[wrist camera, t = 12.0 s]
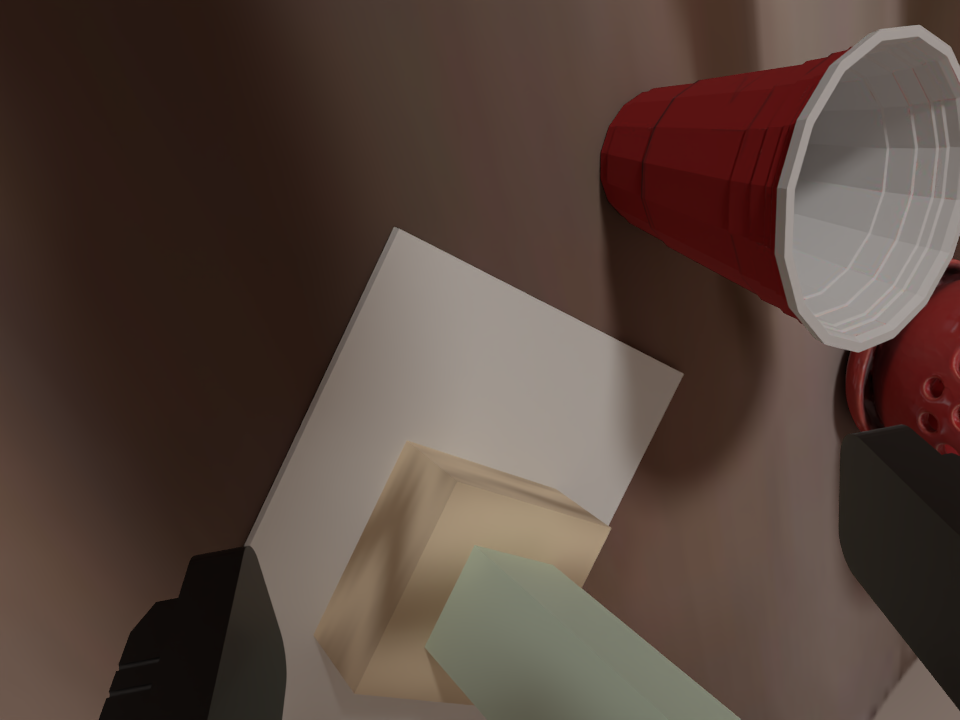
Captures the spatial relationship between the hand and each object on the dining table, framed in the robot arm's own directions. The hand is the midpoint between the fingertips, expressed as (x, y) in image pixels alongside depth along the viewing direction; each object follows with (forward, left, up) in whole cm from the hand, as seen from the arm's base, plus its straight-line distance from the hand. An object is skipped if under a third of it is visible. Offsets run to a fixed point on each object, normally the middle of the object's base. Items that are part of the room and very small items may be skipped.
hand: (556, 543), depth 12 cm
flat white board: (+8, +17, -21) cm, 28 cm away
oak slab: (+8, +17, -21) cm, 28 cm away
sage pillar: (+8, +17, -17) cm, 25 cm away
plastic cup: (-12, +18, -22) cm, 30 cm away
